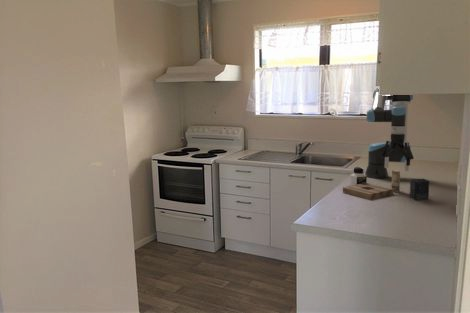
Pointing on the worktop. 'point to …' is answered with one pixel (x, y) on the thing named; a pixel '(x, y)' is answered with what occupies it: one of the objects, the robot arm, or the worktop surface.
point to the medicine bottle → (358, 176)
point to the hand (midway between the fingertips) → (396, 169)
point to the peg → (395, 181)
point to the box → (419, 189)
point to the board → (368, 190)
